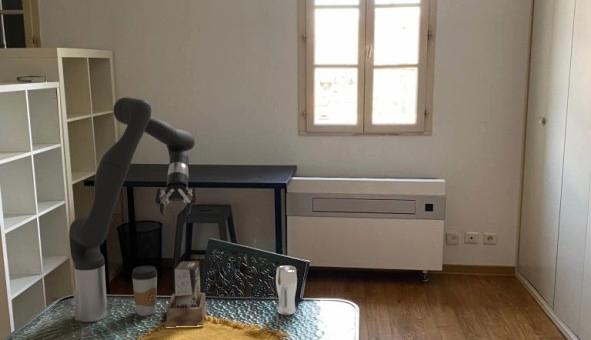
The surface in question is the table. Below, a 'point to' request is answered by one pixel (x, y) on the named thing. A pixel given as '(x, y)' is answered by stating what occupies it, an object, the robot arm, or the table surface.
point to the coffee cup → (145, 289)
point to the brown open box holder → (185, 313)
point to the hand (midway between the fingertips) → (175, 214)
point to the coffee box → (187, 284)
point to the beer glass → (286, 289)
